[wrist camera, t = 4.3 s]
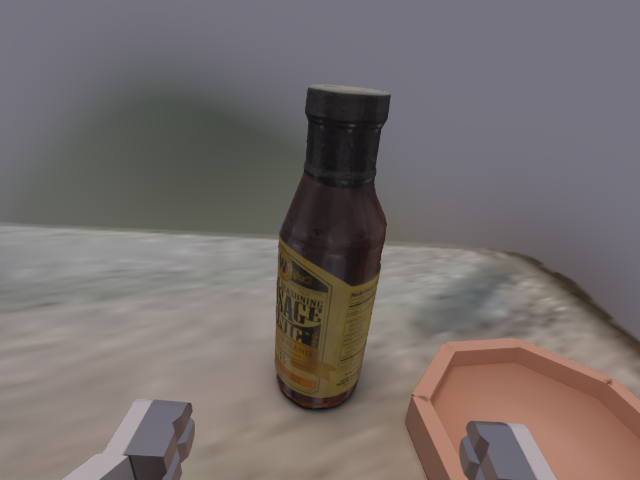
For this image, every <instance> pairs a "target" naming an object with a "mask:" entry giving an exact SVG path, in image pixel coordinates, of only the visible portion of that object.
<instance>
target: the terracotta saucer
mask: <svg viewBox="0 0 640 480" xmlns="http://www.w3.org/2000/svg"><path fill="white" fill-rule="evenodd" d="M470 421H488V422H503V423H516V424H524V425H525V426H526V427H527V428H528V430H529V432H530V434H531V435H532V437H533V439H534V441H535V442H536V444H537V446H538V448H539V449H540V451H541V453H542V455H543V456H544V458H545V460H546V462H547V463H548V465H549V467H550V469H551V470H552V472H553V474H554V475H555V477H556V479H557V480H640V400H639V399H638V398H637V397H635V396H634V395H633V394H632V393H631V392H630V391H629V390H627V389H626V388H625V387H624V386H623V385H622V384H620V383H619V382H618V381H617V380H616V379H612V377H611V376H609V375H606V374H604V373H601V372H599V371H596V370H594V369H591V368H589V367H586V366H584V365H582V364H579V363H577V362H574V361H572V360H569V359H567V358H564V357H562V356H560V355H557V354H555V353H552V352H550V351H547V350H545V349H542V348H540V347H537V346H535V345H533V344H530V343H528V342H525V341H523V340H520V339H516V338H506V339H490V340H473V341H457V342H445V344H444V343H443V344H442V346H441V347H440V349H439V351H438V352H437V354H436V356H435V357H434V359H433V361H432V362H431V364H430V366H429V367H428V369H427V370H426V372H425V374H424V375H423V377H422V379H421V380H420V382H419V384H418V385H417V387H416V389H415V390H414V392H413V393H412V397H411V401H410V405H409V409H408V413H407V417H406V426H407V428H408V431H409V433H410V436H411V438H412V441H413V443H414V446H415V448H416V451H417V453H418V455H419V458H420V460H421V463H422V465H423V468H424V470H425V473H426V475H427V478H428V480H469V479H468V478H467V477H466V476H465V475H464V473H463V470H462V467H461V463H460V457H459V446H460V443H461V439H462V438H464V437H465V436H467V435H468V434H467V431H466V426H467V424H468V422H470Z"/></svg>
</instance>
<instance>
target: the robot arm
mask: <svg viewBox="0 0 640 480" xmlns="http://www.w3.org/2000/svg"><path fill="white" fill-rule="evenodd" d="M192 411H193V410H192V405H191V403H186V402H175V401H164V400H153V399H139V398H138V399H137V400H136V401H135V402H134V403H133V404H132V405H131V407H130V409H129V410H128V412H127V413H126V415H125V417H124V418H123V420H122V422H121V423H120V425H119V427H118V428H117V430H116V432H115V433H114V435H113V437H112V438H111V440H110V442H109V443H108V445H107V447H106V448H105V450H104V451H103V453H102V454H95V455H94V456H93V457H91V458H90V459H89V460H87V461H86V462H85V463H83V464H82V465H81V466H79V467H78V468H77V469H75V470H74V471H73V472H71V473H70V474H69V475H67V476H66V477H65V478H63V479H62V480H180V477H181V475H182V469H181V463H182V462H183V461H184V460H185V459H186V458H187V457H188V456H189V453H190V450H191V447H192V444H193V439H194V433H195V424H194V421H193V420H192V419H191V418H190V416H191V414H192ZM466 431H467V434H468V435H467V436H465V437H464V438H462V439H461V443H460V446H459V457H460V463H461V467H462V470H463V473H464V475H465V476H466V477H467V478H468V479H469V480H557V479H556V477H555V475H554V474H553V472H552V470H551V469H550V467H549V465H548V463H547V462H546V460H545V458H544V456H543V455H542V453H541V451H540V449H539V448H538V446H537V444H536V442H535V441H534V439H533V437H532V435H531V434H530V432H529V430H528V428H527V427H526V426H525V425H524V424H516V423H503V422H488V421H470V422H468V424H467V426H466Z"/></svg>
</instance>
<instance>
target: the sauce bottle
mask: <svg viewBox="0 0 640 480" xmlns="http://www.w3.org/2000/svg"><path fill="white" fill-rule="evenodd" d="M390 97H391V95H390V94H389V93H388V92H384V91H380V90H376V89H368V88H360V87H348V86H338V85H320V84H317V85H311V86H310V87H309V88H308V91H307V99H306V107H305V113H306V116H307V119H308V135H307V150H306V161H305V163H304V173H303V176H302V178H301V181H300V183H299V186H298V188H297V191H296V193H295V196H294V198H293V200H292V203H291V206H290V208H289V210H288V213H287V215H286V218H285V220H284V222H283V225H282V227H281V230H280V232H279V245H278V248H279V254H278V277H277V306H276V338H275V366H276V370H277V379H278V382H279V385H280V388H281V389H282V390H283V392H284V393H285V394H286V395H287V396H288V397H289V398H291V399H292V400H293V401H296V402H297V403H298V404H299V405H302V406H303V407H306V408H311V409H313V408H326V407H332V406H335V405H338V404H339V403H341V402H342V401H343V400H345V399H346V398H347V397H348V396H349V395H350V394H351V392H352V390H353V389H354V388H355V386H356V384H357V381H358V377H359V375H360V371H361V366H362V361H363V356H364V351H365V346H366V341H367V336H368V331H369V325H370V320H371V315H372V310H373V305H374V300H375V295H376V289H377V284H378V280H379V275H380V269H381V263H380V260H381V253H382V249H383V245H384V241H385V234H386V226H387V223H386V219H385V215H384V212H383V210H382V207H381V205H380V202H379V200H378V198H377V196H376V192H375V187H374V178H375V176H376V167H375V166H376V159H377V153H378V147H379V141H380V134H381V129H382V127H383V125H384V124H385V122H386V120H387V118H388V112H389V104H390Z"/></svg>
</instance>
